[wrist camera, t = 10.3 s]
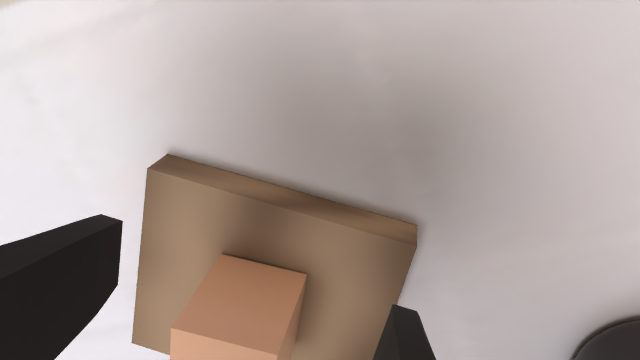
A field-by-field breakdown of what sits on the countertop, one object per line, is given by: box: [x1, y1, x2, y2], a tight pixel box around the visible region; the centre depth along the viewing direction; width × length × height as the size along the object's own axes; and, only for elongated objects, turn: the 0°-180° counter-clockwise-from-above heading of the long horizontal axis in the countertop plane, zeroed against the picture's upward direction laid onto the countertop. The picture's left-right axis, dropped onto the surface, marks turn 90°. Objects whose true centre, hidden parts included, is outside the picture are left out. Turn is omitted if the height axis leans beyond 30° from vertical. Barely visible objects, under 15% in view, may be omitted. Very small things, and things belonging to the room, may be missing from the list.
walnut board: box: [132, 154, 417, 360], centre depth 25 cm, size 12×10×2 cm
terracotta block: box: [170, 254, 307, 360], centre depth 21 cm, size 4×4×5 cm
